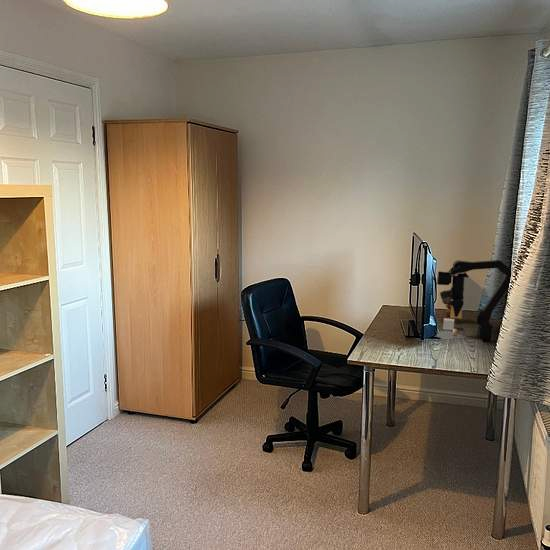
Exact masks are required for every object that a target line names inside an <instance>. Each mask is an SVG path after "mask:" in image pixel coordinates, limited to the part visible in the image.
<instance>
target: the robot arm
mask: <svg viewBox="0 0 550 550" xmlns="http://www.w3.org/2000/svg"><path fill="white" fill-rule="evenodd" d="M488 269H497V270H498V271H499V272H501V273H502V276H501V280H500V283H499V285H498V286H497V288H496V289H495V291H494V292H493V293H492V295H491V297H490V299H489V300H488V301H487V302H486V305H484V307H483V308H480V307H478V309H477V311H476V312H475V313H474V321H475V323H476V324H477V326H478V327H477V332H476V337H477V338H478V339H482V342H483V343H485V342H493V341H494V339H492V332H493V328H494V326H493V325H492V323H491V322H490V321H491V317H492V313H493V312H494V310H495V308H496V307H497V306H498V304H499V302H500V301H501V299H502V298H503V296H504V295H505V294H506V292H507V290H508V289H509V288H510V287H509V283H510V277H511V269H512V268H510V267H508V265H506V264H505V263H503V261H502V260H501V259H494V260H493V259H492V260H480V261H479V260H478V261H467V260H455V261H454V262H453V263H452V267H451V268H450V269H449V270H448V271H442V270H441V271H439V270H438V272H437V277H436V284H437V286H450V285H451V288H450V289H451V290H450V289H447V290H443V291H441V292H439V295H440V299H441V300H442V299H445V298H448V297H451V301H450V304H451V305H452V306H453V307H454V314H455V317H457V316H458V314H459V312H460V310H461V308H462V309H463V306H464V301H465V300H464V297H465V295H464V292H465V279H466V278H469V277H470V276H469V275H468V273H467V272H469V271H473V270H488Z"/></svg>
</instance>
